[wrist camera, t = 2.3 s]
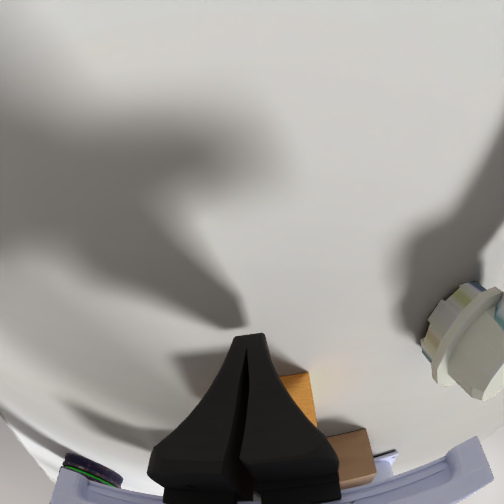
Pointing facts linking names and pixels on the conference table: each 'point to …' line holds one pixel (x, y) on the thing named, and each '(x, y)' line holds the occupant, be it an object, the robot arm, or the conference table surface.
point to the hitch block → (354, 458)
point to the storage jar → (92, 470)
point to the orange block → (301, 393)
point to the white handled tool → (468, 340)
